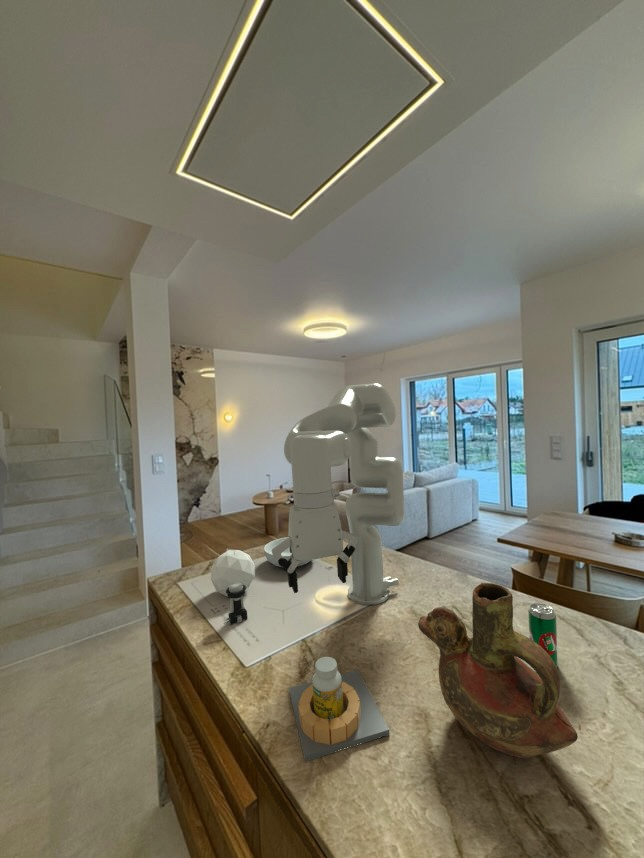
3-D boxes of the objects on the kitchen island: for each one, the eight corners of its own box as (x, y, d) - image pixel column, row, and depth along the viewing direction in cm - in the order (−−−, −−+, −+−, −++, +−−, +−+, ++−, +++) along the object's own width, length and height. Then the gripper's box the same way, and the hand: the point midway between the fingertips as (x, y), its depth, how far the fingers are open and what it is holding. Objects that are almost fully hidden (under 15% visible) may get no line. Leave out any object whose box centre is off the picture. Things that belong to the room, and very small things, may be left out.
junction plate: (358, 674, 75) (358, 669, 75) (389, 734, 61) (389, 729, 61) (289, 692, 71) (289, 687, 71) (305, 761, 57) (305, 755, 57)
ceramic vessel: (441, 665, 76) (436, 553, 76) (589, 739, 58) (585, 591, 57) (397, 715, 64) (391, 582, 64) (566, 828, 46) (560, 643, 45)
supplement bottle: (348, 708, 65) (345, 658, 65) (335, 732, 61) (333, 678, 60) (322, 699, 68) (320, 651, 68) (309, 721, 63) (306, 669, 63)
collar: (348, 686, 71) (347, 674, 71) (369, 732, 60) (368, 718, 60) (294, 700, 68) (294, 687, 68) (307, 752, 57) (306, 737, 57)
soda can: (532, 651, 79) (530, 599, 79) (558, 660, 76) (557, 606, 76) (528, 664, 75) (526, 610, 75) (556, 674, 72) (554, 617, 72)
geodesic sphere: (198, 572, 117) (206, 544, 110) (237, 558, 127) (247, 532, 120) (215, 612, 109) (226, 585, 102) (255, 594, 118) (267, 569, 111)
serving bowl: (329, 557, 138) (328, 539, 138) (298, 579, 121) (296, 559, 120) (287, 548, 150) (286, 533, 149) (253, 568, 132) (252, 550, 132)
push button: (227, 630, 94) (224, 593, 93) (220, 621, 98) (218, 586, 98) (250, 621, 97) (248, 586, 97) (243, 612, 102) (241, 579, 101)
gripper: (348, 489, 73) (353, 568, 74) (265, 500, 69) (272, 584, 70) (362, 497, 66) (367, 584, 67) (271, 510, 61) (277, 604, 62)
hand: (318, 584), depth 68 cm, fingers open, 9 cm apart
